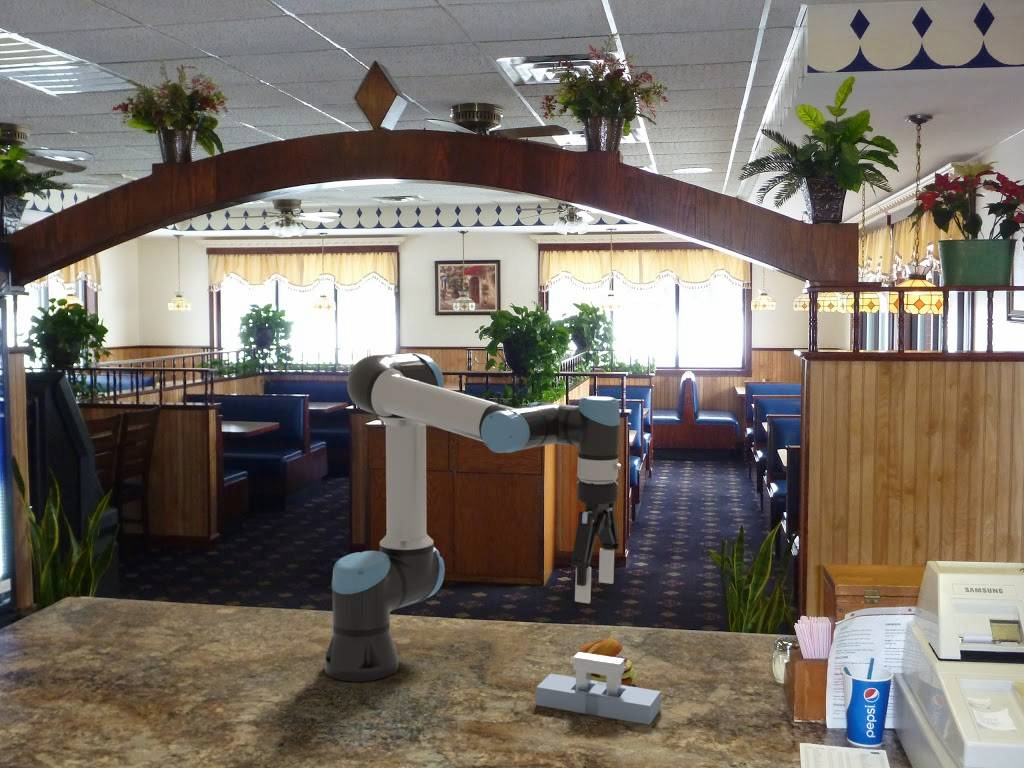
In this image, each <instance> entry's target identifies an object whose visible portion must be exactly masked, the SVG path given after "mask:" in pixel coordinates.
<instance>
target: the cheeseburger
mask: <svg viewBox="0 0 1024 768" xmlns="http://www.w3.org/2000/svg"><path fill="white" fill-rule="evenodd" d="M622 650H623V644H621V643H620V642H619V641H618V640H617V639H614V638H611V637H608V638H607V637H605V638H604V639H599V640H594V641H591V642H588V643H584V645H582V646H581V647H580V649H579V651H578V652H581V653H588V654H595V655H601V656H608V657H615V658H621V659H624V673H623V674H622V675H621V685H625V686H631V687H633V685H634V684H635V682H636V680H637V675H636V673H635V668H634V667H632V666H633V662H632V661H631V660H630V659H629V658H628V657H626V656H624V655H619V653H621V652H622ZM591 680H594V681H600V682H606V675H601V674H594V673H591Z"/></svg>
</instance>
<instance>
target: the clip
mask: <svg viewBox="0 0 1024 768" xmlns="http://www.w3.org/2000/svg"><path fill="white" fill-rule="evenodd" d="M572 667H573V668H572V670H573V671H575V678H576V690H577V691H583V692H589V691H590V690H591V673H594V674H601V675H606V695H607V696H613V697H620V696H621V675H622V674H623V673H624V659H621V658H615V657H608V656H601V655H595V654H588V653H581V652H579V651H578V652H577V653H576V654H575V655H574V656H573V666H572Z"/></svg>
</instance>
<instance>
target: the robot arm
mask: <svg viewBox="0 0 1024 768" xmlns="http://www.w3.org/2000/svg"><path fill="white" fill-rule="evenodd" d="M346 381H347V382H346V383H347V385H346V387H347V393H348V396H349V398H350V399H351V401H352V403H354V405H356V406H357V407H358V408H359V409H361V410H363V411H365V412H368V413H370V414H371V413H372V414H374V415H378V419H380V420H381V421H382V422H383V423H384V425H385V459H386V460H385V486H386V488H385V489H386V491H385V492H386V496H385V497H386V535H385V536H384V537H383V538H382V539H381V540H380V541H379V551H378V550H364V551H362V552H359V551H358V552H356V551H355V552H353V553H350V554H347V555H345V556H343V557H341V558H339V559H338V560H337V561H336V562H335V564H334V566H333V567H332V568H333V569H332V577H331V578H332V580H331V590H332V591H331V594H332V595H331V596H332V635H331V639H330V642H329V645H328V647H327V651H326V654H325V658H324V672H325V674H326V675H327V676H328V677H330V678H333V679H334V680H335V679H336V680H340V681H345V682H371V681H376V680H380V679H383V678H387V677H389V676H391V675H393V674H395V673H396V672H397V671H398V669H399V655H398V652H397V649H396V645H395V642H394V639H393V635H392V634H391V618H390V617H391V616H390V615H391V612H392V611H395V610H397V609H400V608H403V607H407V606H410V605H412V604H413V605H414V604H417V603H420V602H423V601H425V600H426V599H428V598H430V597H433V596H434V595H435V594H436V593H437V592H438V591H439V590H440V588H441V586H442V585H443V582H444V579H445V578H444V577H445V573H446V572H445V571H446V570H445V562H444V559H443V557H442V556H440V552H439V549H437V548H436V547H435V546H434V539H433V538H431V536H429V535H428V533H427V425H428V426H431V427H435V428H438V429H441V430H444V431H447V432H449V433H450V432H451V433H454V434H457V435H461V436H463V437H467V438H470V439H473V440H476V441H480V442H483V443H484V445H485V446H486V447H487V449H489V450H490V451H492V452H494V453H497V454H502V453H506V454H511V453H512V454H513V453H515V452H518V451H523V450H528V449H532V448H537V447H543V446H547V445H548V446H549V445H555V444H558V445H565V446H566V445H567V446H575V447H576V446H577V473H576V474H577V475H576V477H577V478H579V480H577V484H576V486H577V489H576V499H577V500H578V502H581V503H584V504H585V508H584V509H585V510H584V511H579V512H578V518H577V519H578V521H577V528H576V533H575V539H574V544H573V550H572V551H573V552H572V557H571V561H570V567H572V568H573V567H574V568H575V583H574V585H575V586H574V589H575V591H574V602H577V603H583V604H590V603H591V593H592V592H591V590H592V567H591V566H590V565H591V561H592V556H593V552H594V548H595V545H596V541H597V537H598V539H599V543H600V545H601V548H599V562H598V564H599V566H598V583H603V584H610V585H612V584H614V579H615V578H614V577H615V576H614V575H615V574H614V573H615V572H614V569H615V568H614V567H615V550H619V549H620V543H619V536H618V528H617V521H616V514H615V503H616V502H617V501H618V498H619V497H618V496H619V495H618V493H619V490H618V489H619V483H618V482H617V481H616V480H617V479H619V470H620V469H621V467H622V465H621V464H620V463H619V445H620V444H619V443H620V426H621V418H620V417H621V415H620V414H621V413H620V412H621V411H620V402H619V401H618V399H617V398H615V397H611V396H600V395H599V396H598V395H590V396H589V395H587V396H583V397H581V398H580V400H579V401H578V405H570V404H563V403H552V402H551V401H541V402H539V401H534V402H530V403H529V404H528V405H527V406H525V407H519V408H515V407H511V406H507V405H504V404H500V403H498V402H494V401H490V400H488V399H487V400H486V399H483V398H479V397H476V396H473V395H470V394H466V393H462V392H458V391H454V390H451V389H447V388H445V381H444V376H443V372H442V370H441V369H440V366H439V365H438V364H437V363H436V362H435V360H433V358H432V357H430V356H428V355H426V354H423V353H414V352H403V353H393V354H391V353H390V354H375V355H369V356H366V357H363V358H362V359H360V360H358V361H357V362H356V363H355V364H354V365H353V366H352V368H351V370H349V374H348V377H347V380H346Z"/></svg>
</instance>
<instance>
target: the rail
mask: <svg viewBox="0 0 1024 768" xmlns="http://www.w3.org/2000/svg"><path fill="white" fill-rule="evenodd" d="M535 690H536V695H535V696H536V699H535V701H536V706H540V707H545V708H550V709H551V708H552V709H557V710H561V711H562V710H563V711H569V712H575V713H581V714H586V715H591V716H592V715H593V716H597V717H604V718H609V719H615V720H620V721H626V722H631V723H632V722H633V723H637V724H642V725H649V726H650V725H651V723H652V722H653V721H654V719H655V718H656V717H657V715H658V713H659V712H660V710H661V700H662V699H661V695H662V692H661V690H656V689H655V690H654V689H650V688H649V689H647V688H642V687H635V686H631V685H628V686H625V685H621V696H620V697H613V696H607V695H606V682H600V681H594V680H591V690H590V691H589V692H583V691H577V690H576V676H575V677H574V676H567V675H562V674H555V673H550V674H548V676H546V677H545V679H543V680H542V681H541V682H540V683H539V684H538V685H536V689H535Z"/></svg>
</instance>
